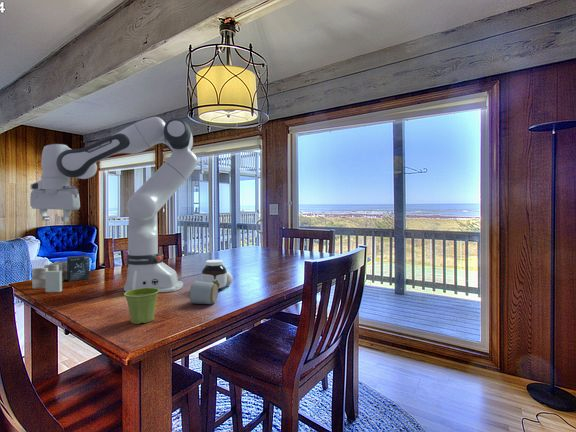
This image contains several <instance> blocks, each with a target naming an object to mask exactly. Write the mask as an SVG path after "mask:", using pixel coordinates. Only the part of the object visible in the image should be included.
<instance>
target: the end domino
mask: <svg viewBox="0 0 576 432" xmlns="http://www.w3.org/2000/svg"><path fill="white" fill-rule="evenodd" d="M54 263H64V281H65V280H67V261H55V262H54ZM67 281H68V280H67Z"/></svg>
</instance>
